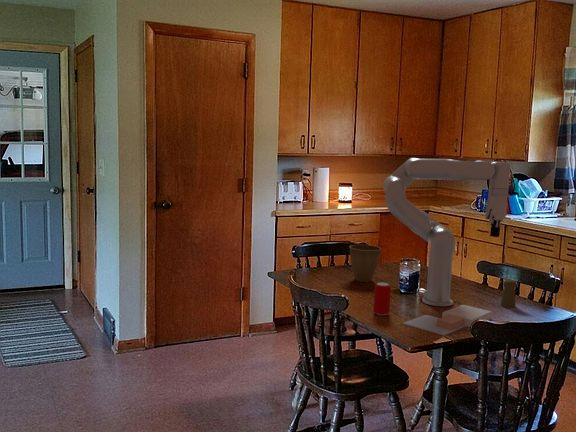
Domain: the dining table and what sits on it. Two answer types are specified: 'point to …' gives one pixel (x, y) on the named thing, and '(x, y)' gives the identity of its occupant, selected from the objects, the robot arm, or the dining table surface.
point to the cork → (508, 294)
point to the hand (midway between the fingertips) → (494, 236)
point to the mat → (430, 325)
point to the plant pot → (364, 261)
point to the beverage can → (382, 299)
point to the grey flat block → (468, 314)
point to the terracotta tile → (450, 322)
